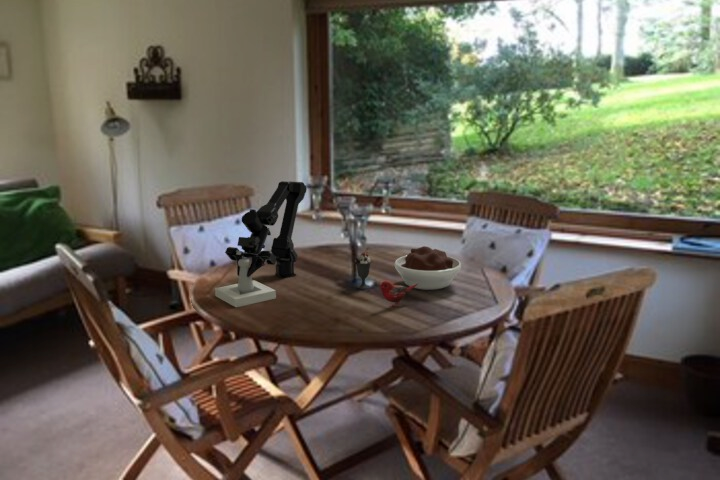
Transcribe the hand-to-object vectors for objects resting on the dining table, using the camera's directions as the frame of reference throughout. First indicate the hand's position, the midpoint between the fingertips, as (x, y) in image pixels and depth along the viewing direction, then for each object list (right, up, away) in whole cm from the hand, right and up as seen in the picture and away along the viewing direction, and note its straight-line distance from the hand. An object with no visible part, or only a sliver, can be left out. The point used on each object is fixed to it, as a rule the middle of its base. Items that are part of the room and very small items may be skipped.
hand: (242, 276), depth 232 cm
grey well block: (0, -8, +3) cm, 8 cm away
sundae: (+43, -5, +14) cm, 46 cm away
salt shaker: (+1, -7, +3) cm, 7 cm away
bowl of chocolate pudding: (+68, -5, +16) cm, 70 cm away
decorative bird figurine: (+56, -10, -6) cm, 57 cm away
